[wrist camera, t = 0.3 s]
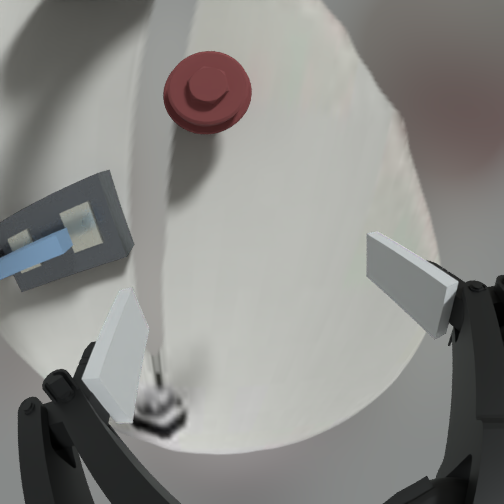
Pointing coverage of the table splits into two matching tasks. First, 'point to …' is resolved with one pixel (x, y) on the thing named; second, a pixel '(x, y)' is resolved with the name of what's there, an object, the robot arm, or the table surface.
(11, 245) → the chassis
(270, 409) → the table surface
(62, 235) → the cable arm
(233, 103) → the mechanical component
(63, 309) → the table surface
